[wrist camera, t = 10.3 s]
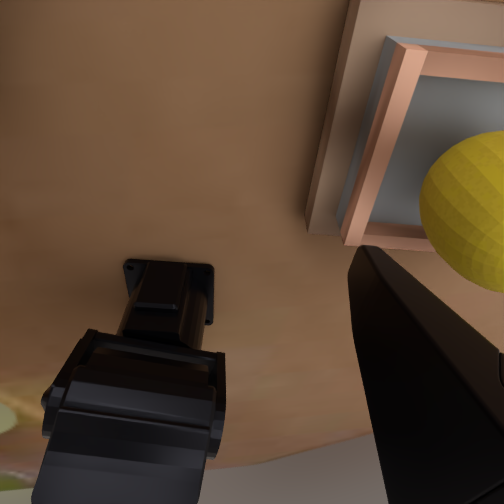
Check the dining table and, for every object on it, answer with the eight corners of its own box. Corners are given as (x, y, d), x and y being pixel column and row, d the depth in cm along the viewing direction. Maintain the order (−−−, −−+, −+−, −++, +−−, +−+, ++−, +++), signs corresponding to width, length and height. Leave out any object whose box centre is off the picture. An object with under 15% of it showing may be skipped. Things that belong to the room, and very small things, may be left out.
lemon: (550, 125, 16) (732, 235, 10) (466, 222, 19) (563, 348, 13) (443, 85, 15) (571, 179, 9) (375, 195, 18) (433, 317, 12)
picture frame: (483, 228, 24) (523, 278, 20) (304, 214, 23) (312, 263, 20) (615, 14, 16) (716, 33, 13) (352, -14, 16) (380, -3, 12)
